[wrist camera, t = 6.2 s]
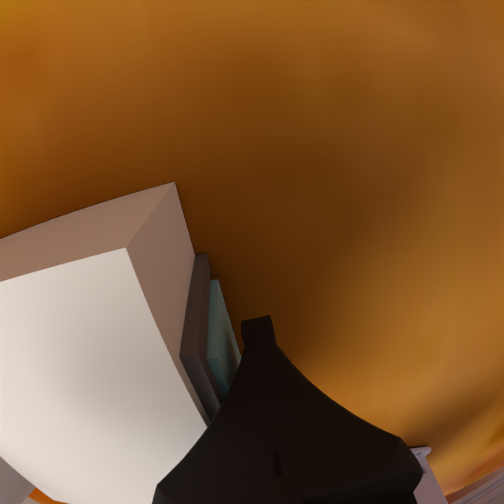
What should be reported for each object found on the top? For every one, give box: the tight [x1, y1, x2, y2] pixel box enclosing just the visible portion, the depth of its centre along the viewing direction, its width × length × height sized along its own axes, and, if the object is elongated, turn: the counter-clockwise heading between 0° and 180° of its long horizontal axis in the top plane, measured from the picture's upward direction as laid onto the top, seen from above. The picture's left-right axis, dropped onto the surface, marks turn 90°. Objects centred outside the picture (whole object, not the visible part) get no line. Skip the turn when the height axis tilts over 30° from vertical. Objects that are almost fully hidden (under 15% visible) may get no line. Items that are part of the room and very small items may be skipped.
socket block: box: [0, 182, 224, 504], centre depth 9 cm, size 10×11×6 cm
